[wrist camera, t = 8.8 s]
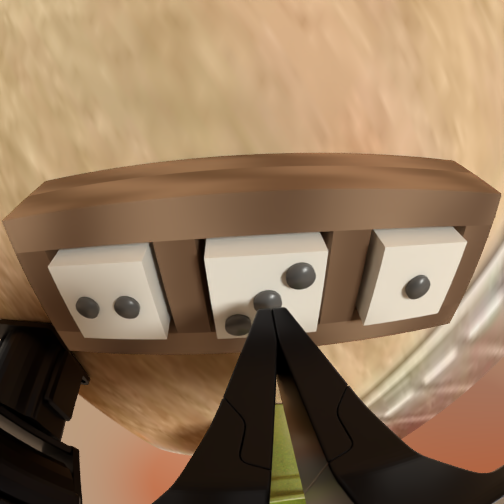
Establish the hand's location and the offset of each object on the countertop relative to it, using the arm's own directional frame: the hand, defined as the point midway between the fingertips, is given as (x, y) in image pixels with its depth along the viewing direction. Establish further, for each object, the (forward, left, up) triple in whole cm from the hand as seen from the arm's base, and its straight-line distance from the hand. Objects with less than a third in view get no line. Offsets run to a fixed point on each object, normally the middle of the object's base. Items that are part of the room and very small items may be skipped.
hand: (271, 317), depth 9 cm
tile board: (0, 0, -5) cm, 5 cm away
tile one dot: (+6, 0, -3) cm, 6 cm away
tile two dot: (-6, 0, -3) cm, 6 cm away
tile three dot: (0, 0, -3) cm, 3 cm away
